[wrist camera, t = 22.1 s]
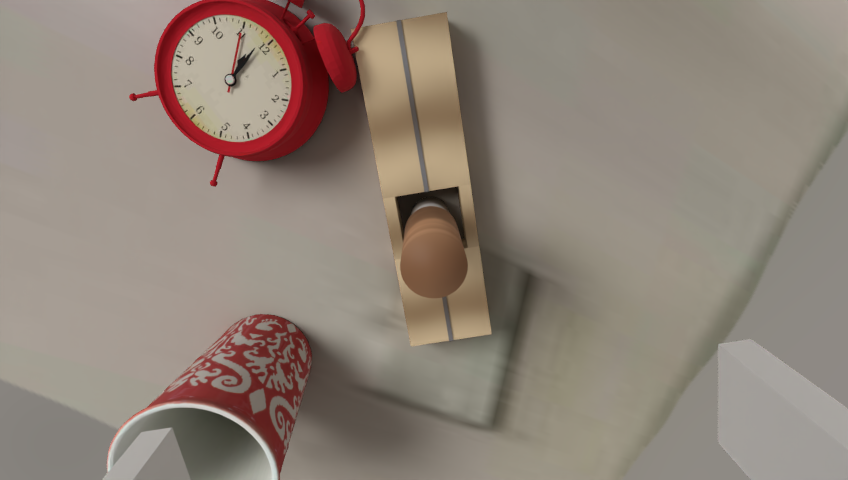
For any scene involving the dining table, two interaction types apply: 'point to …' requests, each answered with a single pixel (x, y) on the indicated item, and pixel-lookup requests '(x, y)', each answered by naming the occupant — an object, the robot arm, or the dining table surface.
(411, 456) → the dining table surface
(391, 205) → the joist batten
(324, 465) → the dining table surface
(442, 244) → the wooden tool handle
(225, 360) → the mug
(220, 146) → the alarm clock
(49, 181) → the dining table surface
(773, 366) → the robot arm
